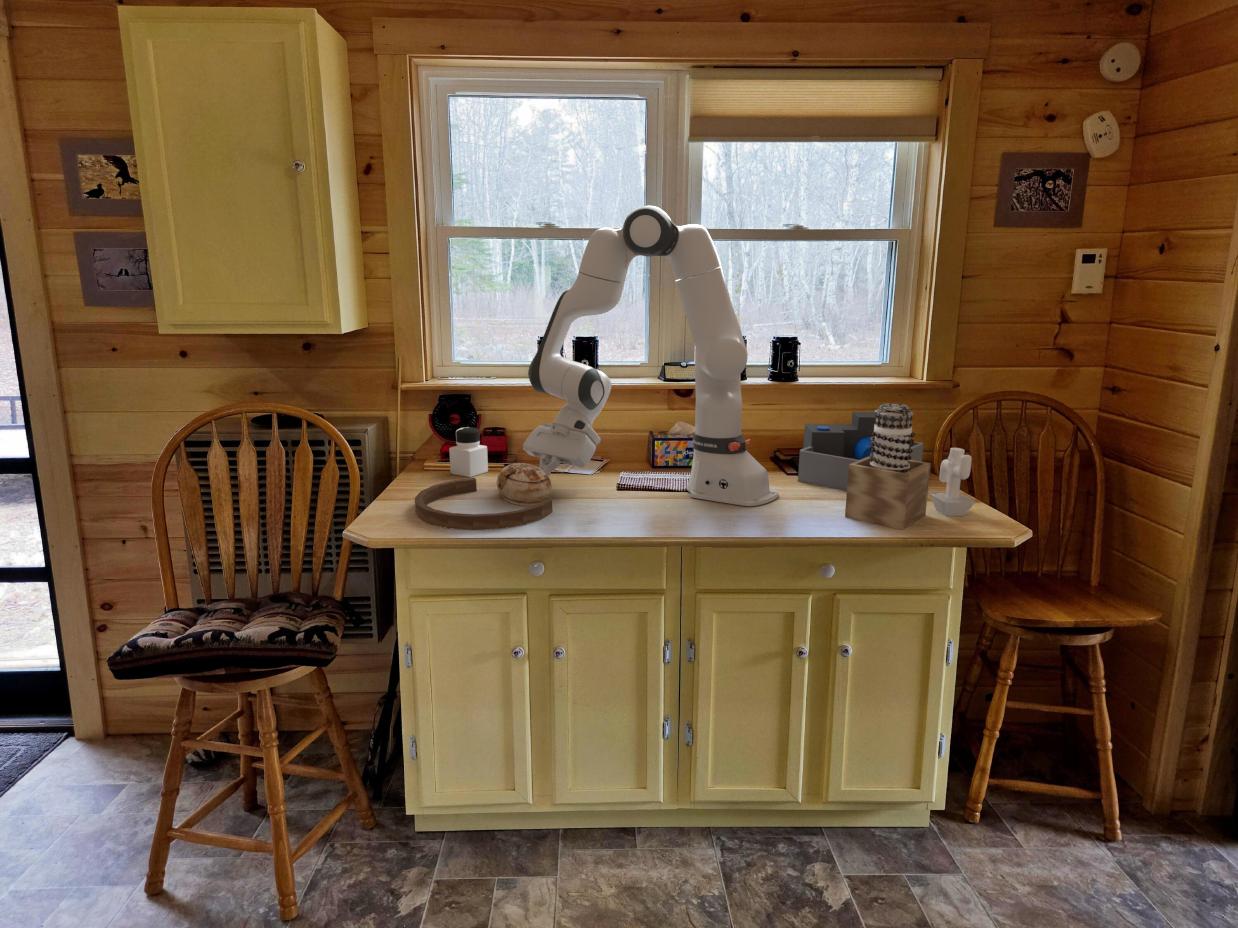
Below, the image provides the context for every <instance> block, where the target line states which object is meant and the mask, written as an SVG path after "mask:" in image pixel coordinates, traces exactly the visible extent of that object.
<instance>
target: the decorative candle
mask: <svg viewBox="0 0 1238 928" xmlns="http://www.w3.org/2000/svg"><path fill="white" fill-rule="evenodd" d="M874 412H876V422H875V425H874V431H873V430H871V431H870V433H872V435H873V437H871V438H870V439H871V440H870V442H871V443H872V444H870V449H871V451H873V452H872V453H870V458H871V460H870V465H871V466H872V467H873V468H878V469H884V470H890V471H895V472H901V473H906V472H907V469H908V468H910V464H909V463H907V461H908V460H911V459H912V457H911V456H910V455H908V453H909V454H910V453H912V452H913V450H912V449H911V448H909V444H910V445H911V444H913V443H914V442H915V441H914V439H912V438H914V437H915V436H916V433H915V432H913V426H912V425H913V416H914V415H915V414H914V412H912V411H911V409H910V406H908V405H906V404H902V403H883V404H881V405H879V407H878V409H875V410H874ZM874 439H875V441H874ZM873 447H874V448H873Z"/></svg>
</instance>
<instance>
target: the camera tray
mask: <svg viewBox="0 0 1238 928" xmlns="http://www.w3.org/2000/svg"><path fill="white" fill-rule="evenodd" d="M813 448H814V447H811V446H809V447H806V448H804V449H803V448H801V449H799V458H798V477H797V482H801V483H806V484H810V485H815V486H822V487H826V488H830V489H834V490H835V489H836V490H839V491H840V490H841V491H846V492H847V483H848V470H849V464H851V463H854V462H856V461H859V460H856V459H851V458H845V457H839V456H833V455H828V454H822V453H816V452H813ZM909 448H911V449H912V450H913V452H912V453H910V454H909V453H908V455H910V456H911V457H912V459H911V460H914V461H920V462H923V452H924V451H923V450H924V442H918V441H914V443H913V444H911V445H910V444H909Z"/></svg>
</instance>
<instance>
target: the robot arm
mask: <svg viewBox="0 0 1238 928" xmlns="http://www.w3.org/2000/svg"><path fill="white" fill-rule="evenodd" d="M715 246H716V245H715V243H714V241H713V239H712V237H711V235H710V233H709V231H708V229H707V228H706V227H704V226H703V225H701V224H697V223H696V224H695V223H691V224H685V225H676V223H674V222H673V221H672V219H671V218H670V216H669V215H668V214H667V212H665V211H664V210H663V209H661V208H660V207H658V206H654V205H644V206H640V207H637V208H634V209H633V210H632V211H631V212H630V213H628V215H627V216H626V217H625V219H624V223H623V225H622V227H621V228H613V227H612V228H611V227H601V228H597V229H596V230H594V231H593V232H592V234H591V235H590V237H589V240H588V242H587V244H586V246H585V249H584V253H583V255H582V257H581V261H580V265H579V268H578V273H577V276H576V279H575V280H574V283H573V284H572V286H571V288H569V289H567V290H565V291H563V292H562V293H561V295H560V297H559V298H558V300H557V302H556V304H555V307H554V309H553V311H552V314H551V315H550V319H549V322H548V324H547V326H546V329H545V331H544V334H543V336H542V339H541V343H539V347H538V350H537V351H536V353H535V354H534V355H535V356H534V357H533V358H532V360H531V362H530V365H529V367H528V370H527V371H528V372H527V375H528V380H529V382H530V385H531V387H532V388H533V390H534V391H536V392H539V393H541V394H542V393H543V394H547V395H551V396H555V397H557V398H559V399H562V400H565V401H567V402H566V403H565V404H564V405H563V406H562V407H561V409H560V410H559V412H558V413H557V414H556V417H555V418H554V420H553V421H552V423H548V422H544V423H542V424H539V425H537V427H535V428H534V429H533V430H532V432H530V434H529V435H528V436H527V438H526V439H525V441H524V442H523V444H522V449H523V451H524V452H525V453H526V454H528V455H529V456H532V457H536V458H539V466H538V467H539V468H540V469H542V470H543V471H545V472H546V473H547V475H548V476H549V477H550V475H551V472H553V471H554V470H555V469H557V468H559V466H560V465H561V464H565V465H569V466H574V467H578V468H584V467H586V466H587V465H588V464H589V462H590V461H591V459H592V458H593V456H594V454H595V452H596V449H597V446H598V445H599V444H600V442H601V441H602V440H601V437H600V436H599V435H598V433H597V431H595V430H594V428H593V423H594V420H595V419H596V418H597V417H598V416H599V415H600V414H601V412H602V410H603V409H604V406H605V404H606V403H607V400H608V399H609V396H610V393H611V390H612V385H613V384H612V381H611V379H610V377H609V376H608V375H607V374H606V373H605V372H604V371H601V370H600V369H596V368H594V367H592V366H590V365H587V364H585V363H581V362H579V361H574V360H572V359H568V358H566V357H563V356H562V355H561V351H562V348H563V345H564V342H565V340H566V337H567V335H568V333H569V330H570V328H571V325H572V323H573V322H574V321H575V320H577V319H579V318H581V317H586V316H587V317H588V316H590V317H591V316H597V315H602V314H605V313H607V312H610V311H611V310H613V309H614V308H615V307H616V306H617V305H618V304H619V302H620V299H621V297H622V294H623V290H624V287H625V282H626V279H627V278H626V277H627V273H628V269H629V267H630V265H631V262H632V261H633V259H634V258H636V257H637V256H641V257H665V258H666V259H667V261H668V262H669V264H670V266H671V270H672V273H673V276H674V281H675V284H676V289H677V291H678V294H679V298H680V303H681V306H682V309H683V312H684V316H685V318H686V322H687V325H688V328H689V331H690V334H691V338H692V341H693V344H694V346H695V347H694V348H695V349H694V381H695V383H694V384H695V385H694V386H695V389H694V390H695V415H694V416H695V419H694V420H695V424H694V432H693V435H692V450H693V457H692V465H691V472H690V477H689V480H688V482H687V486H686V490H687V491H688V493H690V497H691V498H694V499H698V500H699V499H700V500H705V501H712V502H717V503H725V504H729V505H737V506H743V507H754V506H755V507H756V506H761V505H766V504H768V503H770V502H772V501H774V500H776V499H778V497H779V491H778V490H777V489H773V488H771V487H770V479H769V473H768V471H767V469H766V468H765V467H764V466H763V465H762V464H761V463H760V462H758V460H757V459H756V458H755V457H753V455H751V454H750V453H749V451H747V446H746V445H749V444H751V442H750V441H751V439H750V438H748V439H744V436H743V434H742V415H743V413H742V412H743V399H742V398H743V397H742V384H741V380H742V379H741V374H742V373H743V371H745V368H746V366H747V363H748V350H747V346H746V342H745V340H744V337H743V336H744V335H743V332H742V330H741V327H740V323H739V320H738V318H737V315H736V311H735V309H734V307H733V303H732V300H731V297H730V293H729V289H728V285H727V282H726V279H725V275H724V271H723V267H722V264H721V261H720V256H719V255H718V252H717V248H716V247H715Z"/></svg>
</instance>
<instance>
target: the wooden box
mask: <svg viewBox="0 0 1238 928" xmlns="http://www.w3.org/2000/svg"><path fill="white" fill-rule="evenodd" d="M870 460H871V458H870V456H868V457H866V458H863V459H861V460H859V461H856V462H854V463H851V464H849V470H848V483H847V491H846V499H845V512H844V518H849V519H854V520H856V521H857V520H858V521H861V522H866V523H872V524H874V525H876V524H877V525H880V526H884V527H888V528H892V529H898V530H904V529H905V528H907V527H909V526H911V525H912V524H914V523H915V522H917V521H918V520H920V519H922V518H924V517H925V516H926V515H927V513H926V512H927V504H928V496H929V484H930V483H929V482H930V475H931V467H932V463H931V462H925V461H922V462H920V461H914V460H908V461H907V463H909V464H910V468H908V469H907V472H906V473H901V472H895V471H890V470H884V469H878V468H873V467H872V466H871V465H870Z"/></svg>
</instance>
